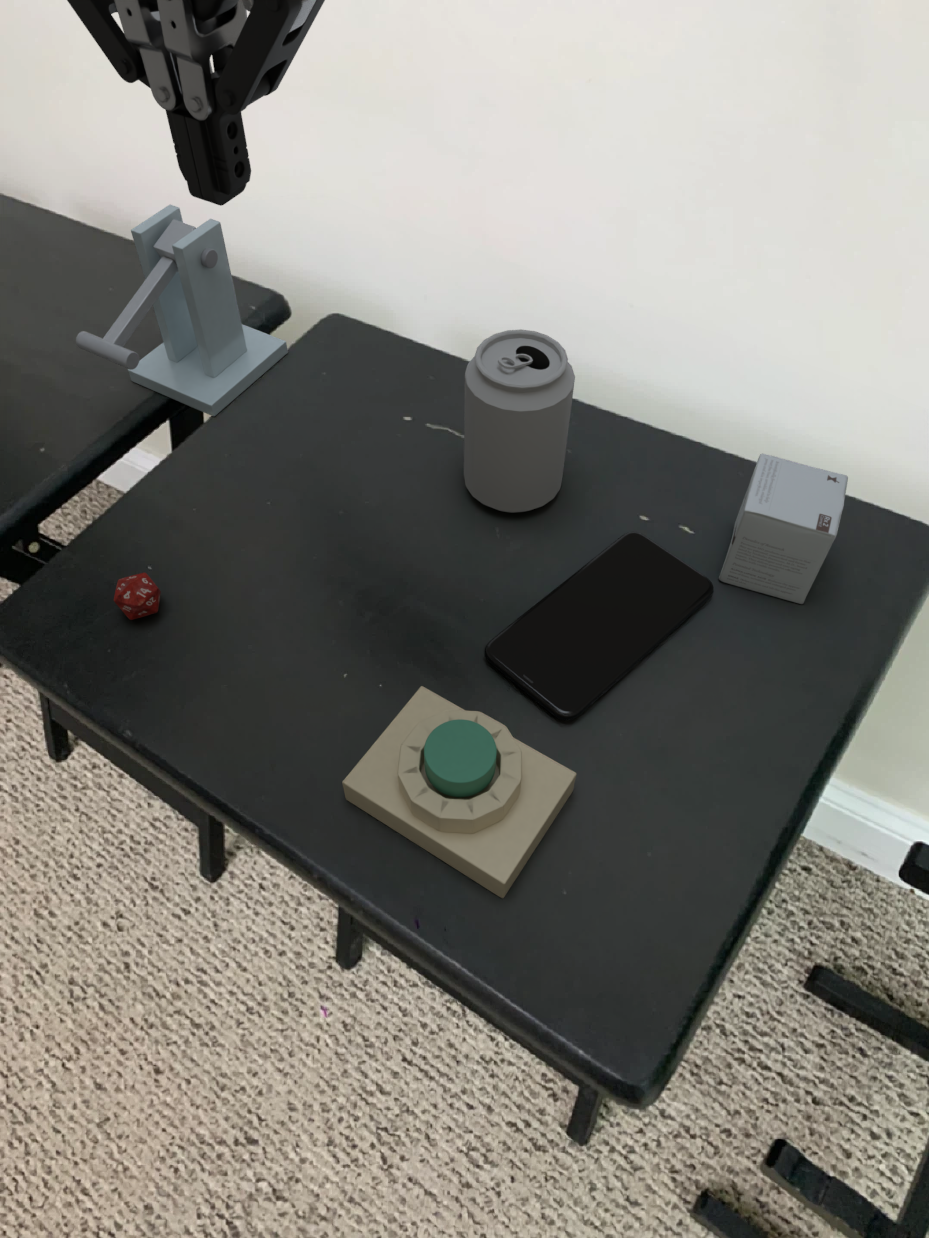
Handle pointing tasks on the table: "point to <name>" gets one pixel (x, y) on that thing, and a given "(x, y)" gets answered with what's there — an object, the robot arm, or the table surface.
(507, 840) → the green push button box
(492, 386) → the can
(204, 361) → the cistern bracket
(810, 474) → the white cardboard box
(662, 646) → the table surface
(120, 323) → the flush lever
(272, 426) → the table surface
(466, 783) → the flush button
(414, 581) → the table surface
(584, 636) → the smartphone
